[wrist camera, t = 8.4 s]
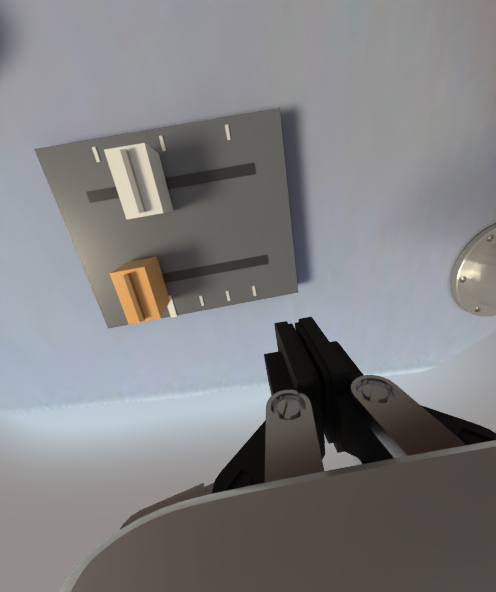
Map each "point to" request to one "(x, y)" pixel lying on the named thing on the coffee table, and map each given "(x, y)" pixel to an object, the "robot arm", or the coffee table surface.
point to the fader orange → (141, 290)
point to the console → (185, 213)
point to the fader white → (139, 180)
